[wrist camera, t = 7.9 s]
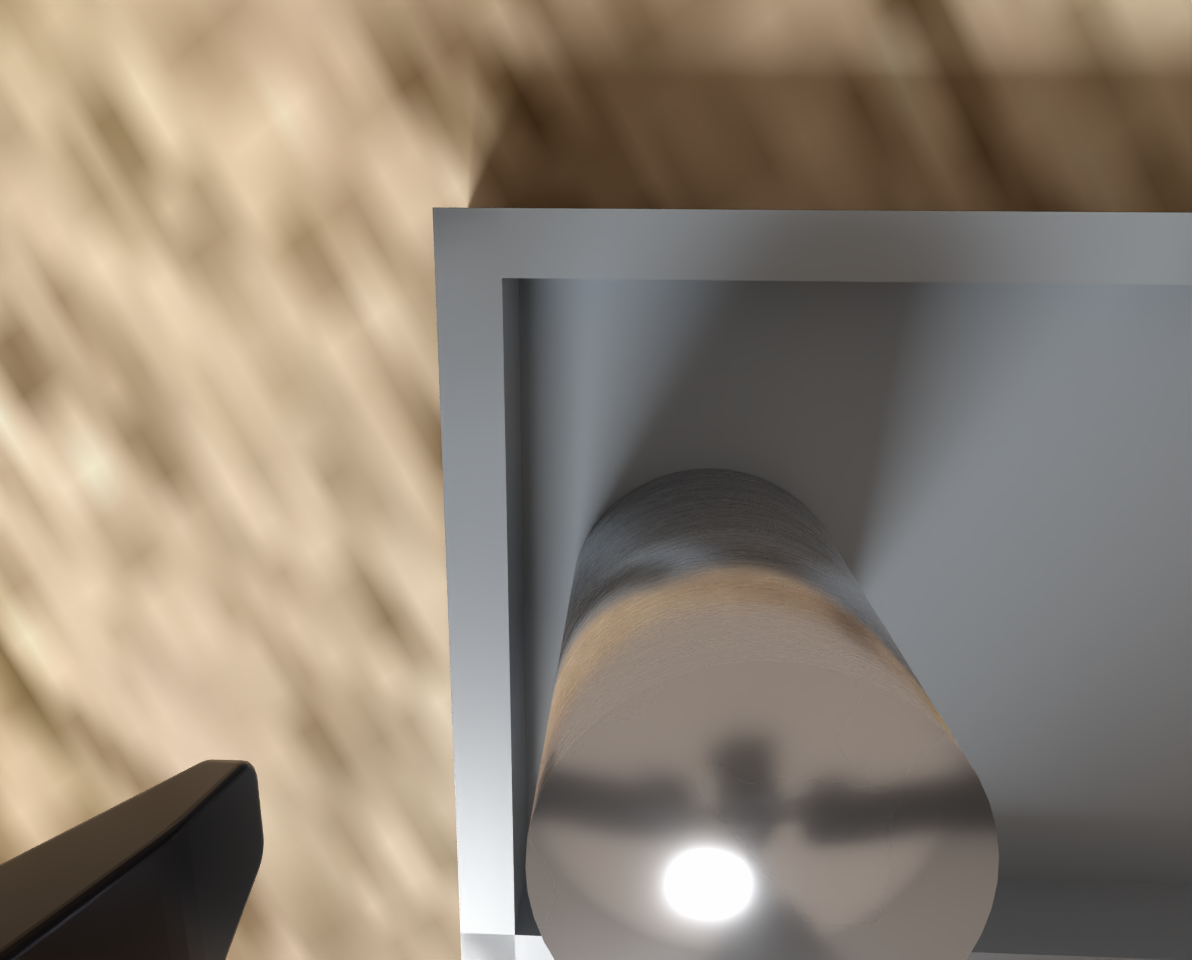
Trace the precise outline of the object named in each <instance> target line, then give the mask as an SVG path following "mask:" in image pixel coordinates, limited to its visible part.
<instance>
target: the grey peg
mask: <svg viewBox="0 0 1192 960" xmlns="http://www.w3.org/2000/svg"><path fill="white" fill-rule="evenodd" d="M998 864H999V851H998V840H997V830H996V826H995V822H994V818H993V814H992V810H991V806H990V803H989V800H988V798H987V796H986V793H985V791H984V789H983V786H982V784H981V782H980V780H979V777H978V776H977V774H976V773H975V771H974V769H973V768H972V766H971V765H970V763H969V761H968V760H967V758H966V757H965V755H964V753H963V752H962V750H961V749H960V747H959V745H958V744H957V742H956V740H955V739H954V737H953V736H952V734H951V732H950V731H949V729H948V728H947V726H946V724H945V723H944V721H943V720H942V718H941V716H940V715H939V713H938V711H937V710H936V708H935V707H934V705H933V703H932V702H931V700H930V699H929V697H928V695H927V694H926V692H925V691H924V689H923V687H922V686H921V684H920V682H919V681H918V679H917V678H916V676H915V674H914V673H913V671H912V670H911V668H910V666H909V665H908V663H907V662H906V660H905V658H904V657H903V655H902V653H901V652H900V650H899V649H898V647H897V645H896V644H895V642H894V641H893V639H892V637H891V636H890V634H889V633H888V631H887V629H886V628H885V626H884V624H883V623H882V621H881V620H880V618H879V616H878V615H877V613H876V612H875V610H874V608H873V607H872V605H871V604H870V602H869V600H868V599H867V597H866V596H865V594H864V592H863V591H862V589H861V587H860V586H859V584H858V583H857V581H856V579H855V578H854V576H853V575H852V573H851V571H850V570H849V568H848V567H847V565H846V563H845V562H844V560H843V558H842V557H841V555H840V554H839V552H838V550H837V549H836V547H835V546H834V544H833V542H832V541H831V539H830V538H829V536H828V534H827V533H826V531H825V530H824V528H823V526H822V525H821V523H820V522H819V521H818V519H817V518H816V517H815V516H814V515H813V514H812V512H811V511H810V510H809V509H808V508H807V507H806V506H805V505H804V504H802V503H801V502H800V501H799V500H798V499H797V498H796V497H794V496H793V495H791V494H790V493H788V492H787V491H785V490H784V489H783V488H781V487H779V486H777V485H775V484H773V483H771V482H769V481H767V480H765V479H762V478H759V477H756V476H754V475H751V474H748V473H743V472H738V471H733V470H726V469H713V468H710V469H692V470H686V471H681V472H675V473H672V474H669V475H665V476H662V477H659V478H656V479H654V480H652V481H650V482H647V483H645V484H643V485H641V486H639V487H638V488H636V489H634V490H633V491H631V492H630V493H628V494H626V495H625V496H624V497H623V498H621V499H620V500H619V501H618V502H616V503H615V504H614V505H613V506H612V507H611V508H610V509H609V510H608V511H607V512H606V513H605V514H604V515H603V516H602V517H601V518H600V520H599V521H598V522H597V524H596V525H595V527H594V528H593V529H592V531H591V532H590V534H589V536H588V538H587V539H586V541H585V543H584V545H583V547H582V550H581V552H580V555H579V558H578V561H577V563H576V568H575V573H574V577H573V583H572V588H571V594H570V600H569V605H568V611H567V617H566V622H565V628H564V634H563V639H562V645H561V651H560V656H559V662H558V668H557V673H556V679H555V685H554V690H553V696H552V702H551V707H550V713H549V719H548V724H547V730H546V736H545V742H544V747H543V753H542V759H541V764H540V770H539V776H538V781H537V787H536V793H535V798H534V804H533V810H532V815H531V821H530V827H529V832H528V838H527V848H526V865H525V869H526V880H527V890H528V896H529V900H530V904H531V908H532V912H533V916H534V919H535V922H536V924H537V926H538V929H539V931H540V934H541V936H542V938H543V941H544V943H545V944H546V946H547V948H548V949H549V951H550V953H551V955H552V956H553V958H554V960H967V958H968V957H969V955H970V953H971V952H972V950H973V948H974V946H975V945H976V943H977V941H978V939H979V938H980V936H981V934H982V932H983V929H984V927H985V924H986V921H987V919H988V916H989V914H990V911H991V908H992V904H993V900H994V895H995V891H996V886H997V879H998Z"/></svg>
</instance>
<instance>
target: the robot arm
mask: <svg viewBox="0 0 1192 960" xmlns="http://www.w3.org/2000/svg"><path fill="white" fill-rule="evenodd" d="M263 845H264V838H263V827H262V818H261V809H260V799H259V790H258V780H257V774H256V772H255V769H254V767H253V766H252V765H251V764H250V763H249V762H248V761H241V760H206V761H203V762H201V763H199V764H197V765H195V766H193V767H191V768H189V769H187V770H185V771H183V772H181V773H179V774H177V775H175V776H173V777H171V778H170V779H168V780H166V781H164V782H162V783H160V784H158V785H156V786H154V787H152V788H150V789H148V790H146V791H144V792H142V793H140V794H138V795H136V796H134V797H132V798H130V799H128V800H126V801H124V802H122V803H120V804H119V805H117V806H115V807H113V808H111V809H109V810H107V811H105V812H103V813H101V814H99V815H97V816H95V817H93V818H91V819H89V820H87V821H85V822H83V823H81V824H79V825H77V826H75V827H73V828H71V829H70V830H68V831H66V832H64V833H62V834H60V835H58V836H56V837H54V838H52V839H50V840H48V841H46V842H44V843H42V844H40V845H38V846H36V847H34V848H32V849H30V850H28V851H26V852H24V853H22V854H21V855H19V856H17V857H15V858H13V859H11V860H9V861H7V862H5V863H3V864H1V865H0V960H226V957H227V954H228V952H229V949H230V946H231V943H232V941H233V938H234V935H235V933H236V930H237V927H238V924H239V922H240V919H241V916H242V914H243V911H244V908H245V905H246V903H247V900H248V897H249V895H250V892H251V889H252V886H253V884H254V881H255V878H256V876H257V873H258V870H259V867H260V864H261V860H262V855H263Z"/></svg>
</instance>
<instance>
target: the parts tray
mask: <svg viewBox="0 0 1192 960" xmlns="http://www.w3.org/2000/svg"><path fill="white" fill-rule="evenodd" d="M433 230H434V256H435V282H436V308H437V334H438V360H439V386H440V412H441V438H442V464H443V490H444V516H445V542H446V568H447V594H448V620H449V646H450V672H451V698H452V724H453V750H454V776H455V802H456V828H457V854H458V880H459V906H460V931H461V957H462V960H554V958H553V956H552V955H551V953H550V951H549V949H548V948H547V946H546V944H545V943H544V941H543V938H542V936H541V934H540V931H539V929H538V926H537V924H536V922H535V919H534V916H533V912H532V908H531V904H530V900H529V896H528V890H527V880H526V869H525V865H526V848H527V838H528V832H529V827H530V821H531V815H532V810H533V804H534V798H535V793H536V787H537V781H538V776H539V770H540V764H541V759H542V753H543V747H544V742H545V736H546V730H547V724H548V719H549V713H550V707H551V702H552V696H553V690H554V685H555V679H556V673H557V668H558V662H559V656H560V651H561V645H562V639H563V634H564V628H565V622H566V617H567V611H568V605H569V600H570V594H571V588H572V583H573V577H574V573H575V568H576V563H577V561H578V558H579V555H580V552H581V550H582V547H583V545H584V543H585V541H586V539H587V538H588V536H589V534H590V532H591V531H592V529H593V528H594V527H595V525H596V524H597V522H598V521H599V520H600V518H601V517H602V516H603V515H604V514H605V513H606V512H607V511H608V510H609V509H610V508H611V507H612V506H613V505H614V504H615V503H616V502H618V501H619V500H620V499H621V498H623V497H624V496H625V495H626V494H628V493H630V492H631V491H633V490H634V489H636V488H638V487H639V486H641V485H643V484H645V483H647V482H650V481H652V480H654V479H656V478H659V477H662V476H665V475H669V474H672V473H675V472H681V471H686V470H692V469H710V468H713V469H726V470H733V471H738V472H743V473H748V474H751V475H754V476H756V477H759V478H762V479H765V480H767V481H769V482H771V483H773V484H775V485H777V486H779V487H781V488H783V489H784V490H785V491H787V492H788V493H790V494H791V495H793V496H794V497H796V498H797V499H798V500H799V501H800V502H801V503H802V504H804V505H805V506H806V507H807V508H808V509H809V510H810V511H811V512H812V514H813V515H814V516H815V517H816V518H817V519H818V521H819V522H820V523H821V525H822V526H823V528H824V530H825V531H826V533H827V534H828V536H829V538H830V539H831V541H832V542H833V544H834V546H835V547H836V549H837V550H838V552H839V554H840V555H841V557H842V558H843V560H844V562H845V563H846V565H847V567H848V568H849V570H850V571H851V573H852V575H853V576H854V578H855V579H856V581H857V583H858V584H859V586H860V587H861V589H862V591H863V592H864V594H865V596H866V597H867V599H868V600H869V602H870V604H871V605H872V607H873V608H874V610H875V612H876V613H877V615H878V616H879V618H880V620H881V621H882V623H883V624H884V626H885V628H886V629H887V631H888V633H889V634H890V636H891V637H892V639H893V641H894V642H895V644H896V645H897V647H898V649H899V650H900V652H901V653H902V655H903V657H904V658H905V660H906V662H907V663H908V665H909V666H910V668H911V670H912V671H913V673H914V674H915V676H916V678H917V679H918V681H919V682H920V684H921V686H922V687H923V689H924V691H925V692H926V694H927V695H928V697H929V699H930V700H931V702H932V703H933V705H934V707H935V708H936V710H937V711H938V713H939V715H940V716H941V718H942V720H943V721H944V723H945V724H946V726H947V728H948V729H949V731H950V732H951V734H952V736H953V737H954V739H955V740H956V742H957V744H958V745H959V747H960V749H961V750H962V752H963V753H964V755H965V757H966V758H967V760H968V761H969V763H970V765H971V766H972V768H973V769H974V771H975V773H976V774H977V776H978V777H979V780H980V782H981V784H982V786H983V789H984V791H985V793H986V796H987V798H988V800H989V803H990V806H991V810H992V814H993V818H994V822H995V826H996V830H997V840H998V851H999V864H998V879H997V886H996V891H995V895H994V900H993V904H992V908H991V911H990V914H989V916H988V919H987V921H986V924H985V927H984V929H983V932H982V934H981V936H980V938H979V939H978V941H977V943H976V945H975V946H974V948H973V950H972V952H971V953H970V955H969V957H968V958H967V960H1192V213H1164V212H1016V211H867V210H719V209H571V208H433Z"/></svg>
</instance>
